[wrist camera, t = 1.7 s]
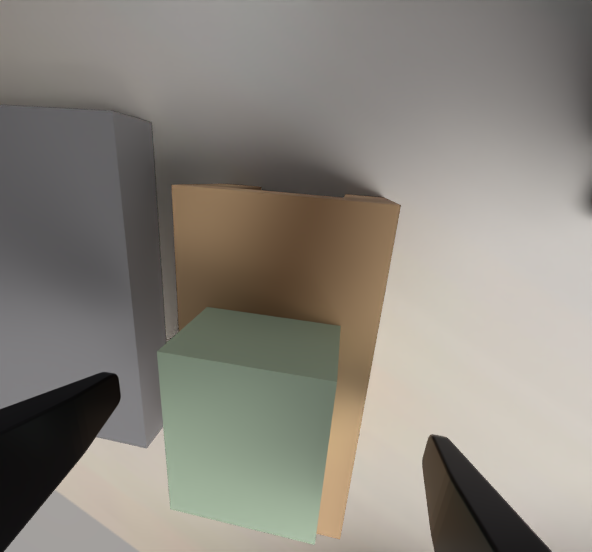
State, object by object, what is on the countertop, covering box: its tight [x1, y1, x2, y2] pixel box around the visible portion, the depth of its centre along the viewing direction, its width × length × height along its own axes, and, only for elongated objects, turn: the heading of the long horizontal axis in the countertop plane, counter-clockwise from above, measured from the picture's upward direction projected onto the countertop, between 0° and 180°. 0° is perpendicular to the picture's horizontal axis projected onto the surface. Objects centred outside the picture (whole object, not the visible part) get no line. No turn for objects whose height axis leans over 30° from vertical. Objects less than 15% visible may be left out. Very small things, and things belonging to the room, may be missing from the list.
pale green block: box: [157, 307, 341, 545], centre depth 8 cm, size 4×5×2 cm
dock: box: [0, 105, 166, 448], centre depth 13 cm, size 12×14×2 cm
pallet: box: [171, 184, 401, 539], centre depth 11 cm, size 6×12×4 cm, turn 175°
